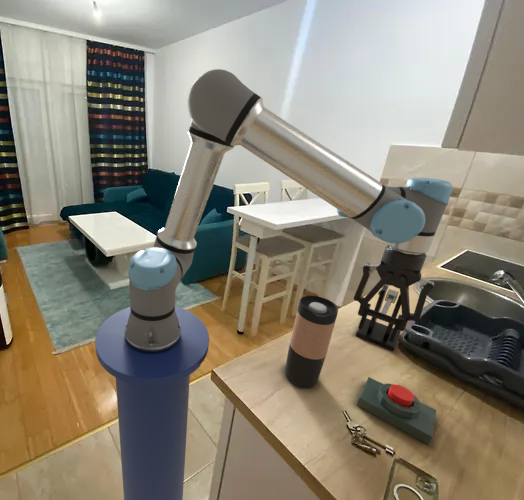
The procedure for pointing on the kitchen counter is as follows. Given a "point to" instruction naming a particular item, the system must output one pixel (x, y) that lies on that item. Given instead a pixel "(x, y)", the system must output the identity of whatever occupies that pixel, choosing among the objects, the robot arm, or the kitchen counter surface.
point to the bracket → (380, 325)
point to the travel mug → (310, 340)
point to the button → (401, 395)
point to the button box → (398, 411)
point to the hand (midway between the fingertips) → (376, 332)
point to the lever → (385, 308)
